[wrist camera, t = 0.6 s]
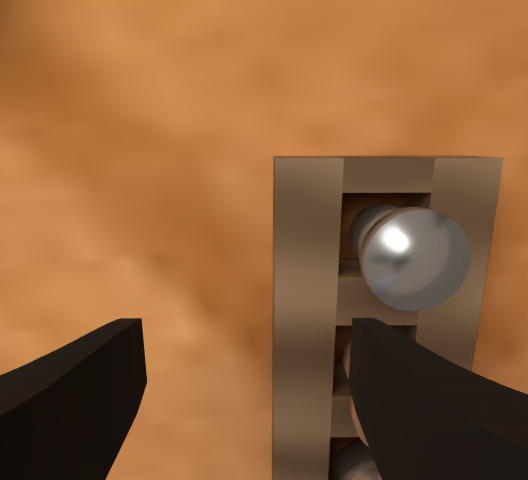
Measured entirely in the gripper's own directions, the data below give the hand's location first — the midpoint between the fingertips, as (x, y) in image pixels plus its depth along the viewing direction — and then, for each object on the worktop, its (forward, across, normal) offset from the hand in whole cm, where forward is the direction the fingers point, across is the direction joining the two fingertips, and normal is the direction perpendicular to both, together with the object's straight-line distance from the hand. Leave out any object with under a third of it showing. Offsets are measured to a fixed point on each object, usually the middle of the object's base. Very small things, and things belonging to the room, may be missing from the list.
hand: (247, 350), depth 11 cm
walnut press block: (+10, -6, +5) cm, 13 cm away
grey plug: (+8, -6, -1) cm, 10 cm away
